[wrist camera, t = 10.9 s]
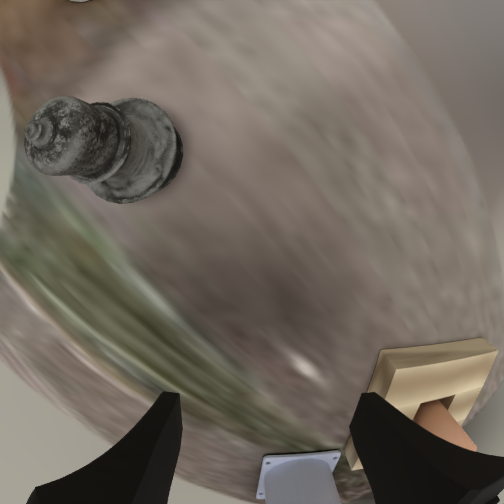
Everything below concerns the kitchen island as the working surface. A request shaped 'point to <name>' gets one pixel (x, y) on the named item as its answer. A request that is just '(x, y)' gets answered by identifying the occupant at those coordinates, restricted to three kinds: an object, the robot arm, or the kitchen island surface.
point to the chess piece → (105, 146)
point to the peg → (442, 424)
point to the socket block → (430, 379)
